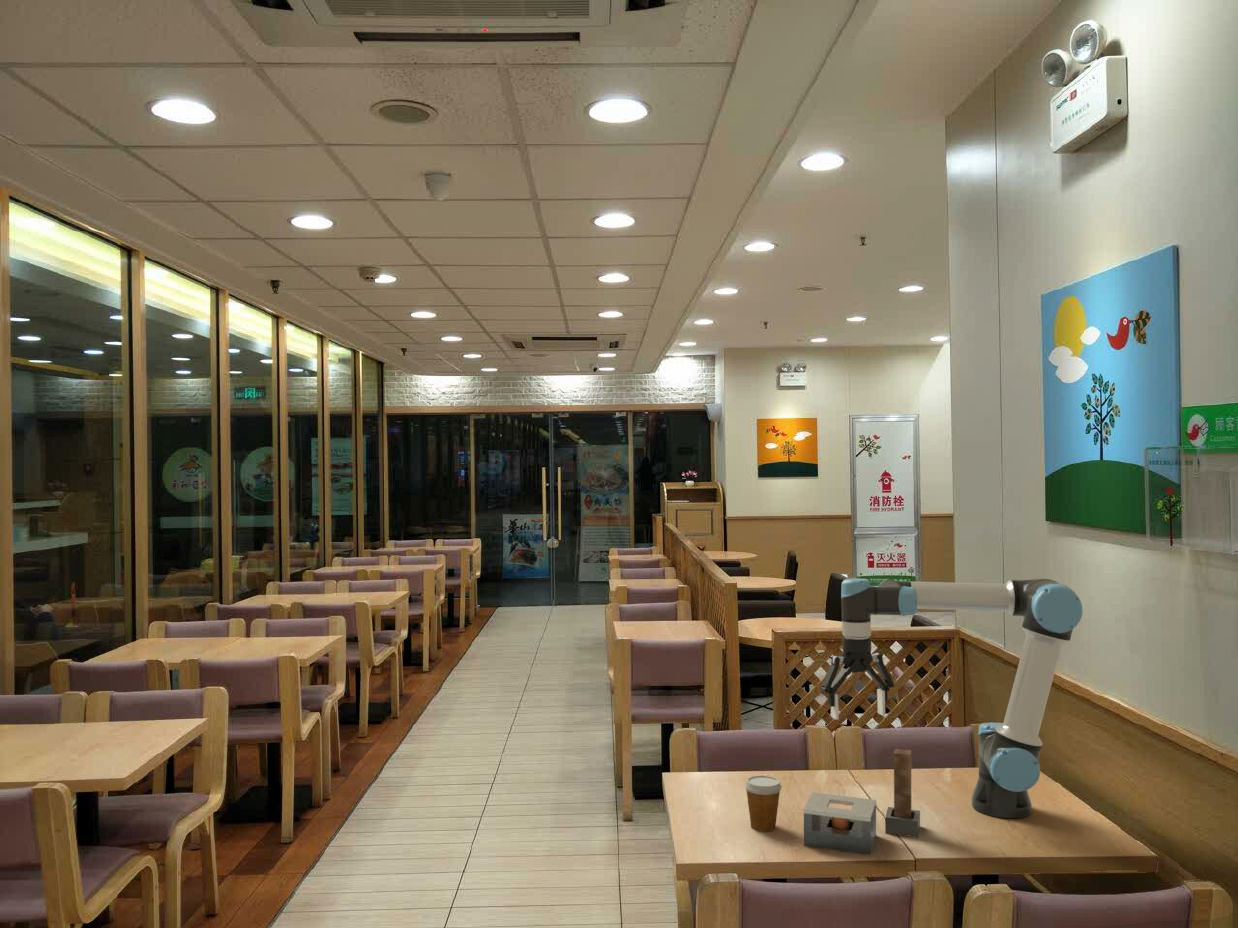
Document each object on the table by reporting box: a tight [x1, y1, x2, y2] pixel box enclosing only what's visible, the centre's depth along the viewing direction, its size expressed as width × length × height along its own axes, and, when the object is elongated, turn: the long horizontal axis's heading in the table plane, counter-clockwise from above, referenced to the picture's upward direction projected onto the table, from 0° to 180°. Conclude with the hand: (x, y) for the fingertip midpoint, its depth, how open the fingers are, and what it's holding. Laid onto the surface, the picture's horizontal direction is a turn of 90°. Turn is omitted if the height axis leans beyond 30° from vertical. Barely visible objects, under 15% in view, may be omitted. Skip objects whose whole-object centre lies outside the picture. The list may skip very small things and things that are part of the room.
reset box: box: [803, 791, 877, 856], centre depth 237 cm, size 16×13×9 cm
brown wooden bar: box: [893, 748, 912, 819], centre depth 244 cm, size 4×4×20 cm
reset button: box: [831, 817, 850, 830], centre depth 237 cm, size 4×4×4 cm
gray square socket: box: [884, 806, 921, 838], centre depth 244 cm, size 8×8×4 cm
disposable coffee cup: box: [744, 775, 782, 832], centre depth 246 cm, size 10×10×12 cm
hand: (858, 716), depth 254 cm, fingers open, 13 cm apart
